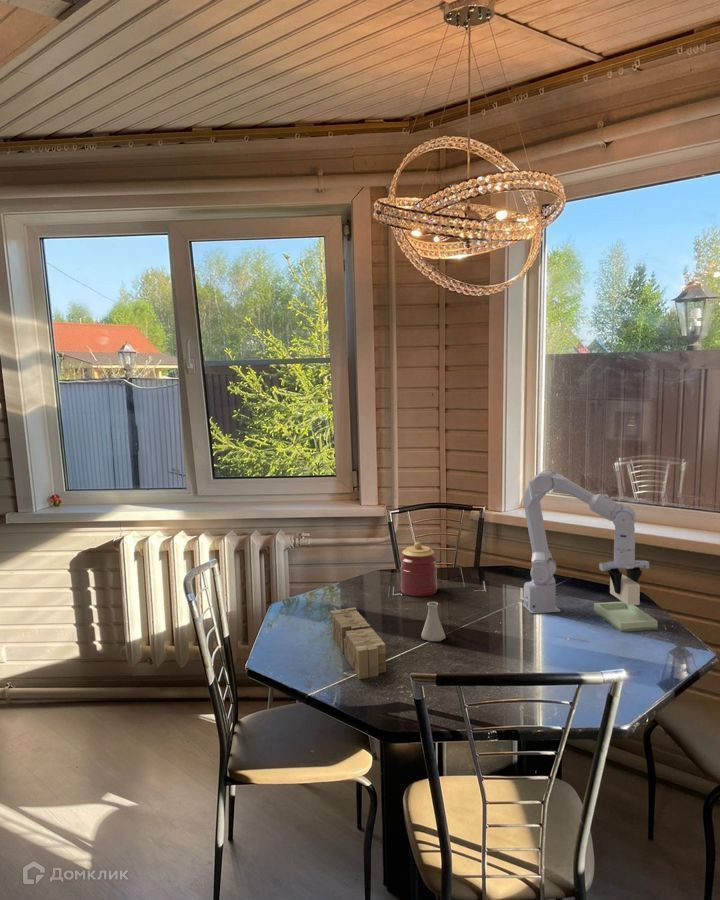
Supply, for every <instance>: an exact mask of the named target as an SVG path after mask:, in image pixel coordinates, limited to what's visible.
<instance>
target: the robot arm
mask: <svg viewBox="0 0 720 900" xmlns="http://www.w3.org/2000/svg"><path fill="white" fill-rule="evenodd" d="M525 489H526V490H525V492H524V494H523V497H522V502H523V503H522V504H523V508H524V509H523V510H524V513H525V521H526V525H527V529H528V530H527V531H528V536H529V542H530V547H531V553H532V554H531V561H530V562H531V569H530V571H529V572H530V573H529V574H530V578H531V581H526V582H525V583H524V584H523V604H522V607H524V608H525V609H526V610H527V611H528V612H529V613H531V614H545V613H547V614H548V613H560V612H561V609H560V608H558V606H556V578H555V577H554V575H555V574H556V572H557V564H556V562H555V560H554V559H553V557H552V552H551V551H550V550H549V545H548V539H547V534H546V528H545V523H544V517H543V512H542V506H541V501H542V499H543V498H544V497H545V496H546V494H547V493H549V492H551V490H552V493H566V494H567V495H570V496H572V497H574V498H576V499H578V500H580V501H582V502H583V503H586V504H588V507H589V509H590V510H591V512H594V513H595V514H597V515H599V516H600V517H602V518H604V519H606V520H607V521H610V522H612V523H613V525H614V533H613V541H614V542H613V560H611V561H607V562H599V565H598V567H599V568H598V569H599V571H601V572H605V571H607V573H608V575H609V578H610V577H611V580H612V583H613V586H614V590H615V593H617V594H620V591H621V578H622V574H623V573H622V572H620V570H626V571H625V572H626V577H628V578H630V579H631V580H633V581H635V582H636V583H638V581H639V578H641V576H642V573H643V570H641V569H645V570H646V569H650V562H649V561H647V560H635V559H636V533H635V531H636V530H635V529H636V528H635V521H636V519H637V515H636V512H635V511H634V509H632V508H631V507H630V506H628V505H625V506H624V504H623V503H622V502H620V503H619V502H616V501H615V500H613V499H611V498H609V495H608V494H606V493H604V494H602V493H597V494H593V493H591V492H590V491H588V490H587V489H585V488H583V487H582V486H580V485H578V484H577V483H575V482H574V481H572V480H571V479H568V478H567V477H566V476H564V475H562V474H560V473H556V472H555V471H554V470H552V469H544V470H542V471H541V472H540V473H538V474H536V475H534V476H533V477H532V478H531V479H530V480H529V481H528V484H527V487H526V488H525Z"/></svg>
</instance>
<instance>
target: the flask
mask: <svg viewBox="0 0 720 900" xmlns="http://www.w3.org/2000/svg"><path fill="white" fill-rule="evenodd" d="M426 604H427V607H428V609H427V610H428V611H427V617H426V620H425V622H424V625H423V629H422V632H421V634H420V636H421V637H420V638H421V640H425V641H427V642H441V641H443V640H444V639H446V638H447V637H446V634H445V631H444V628H443V626H442V622H441V619H440V617H439V612H438V607H439V602H437V601H429V602H426Z"/></svg>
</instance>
